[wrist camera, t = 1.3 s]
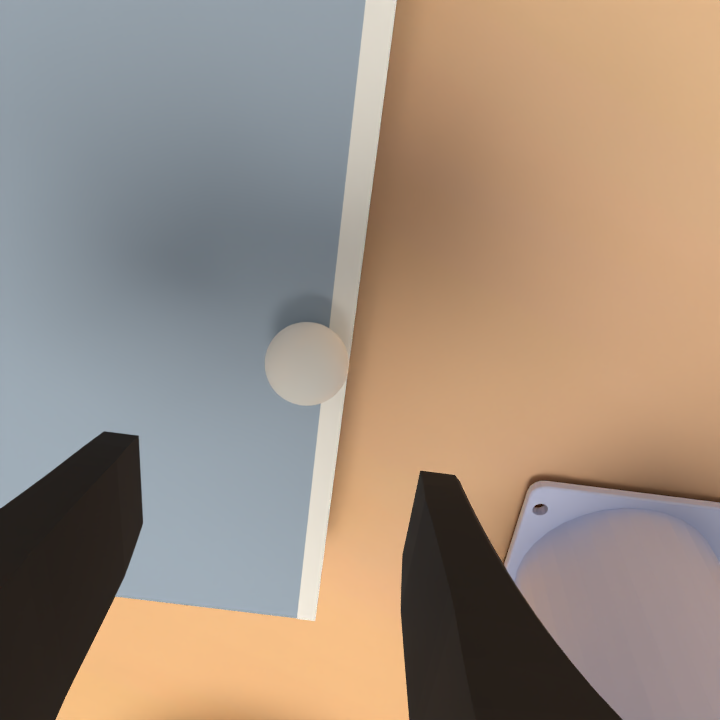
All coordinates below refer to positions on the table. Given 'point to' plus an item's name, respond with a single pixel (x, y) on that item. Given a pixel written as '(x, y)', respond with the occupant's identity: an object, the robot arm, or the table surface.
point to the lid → (190, 269)
